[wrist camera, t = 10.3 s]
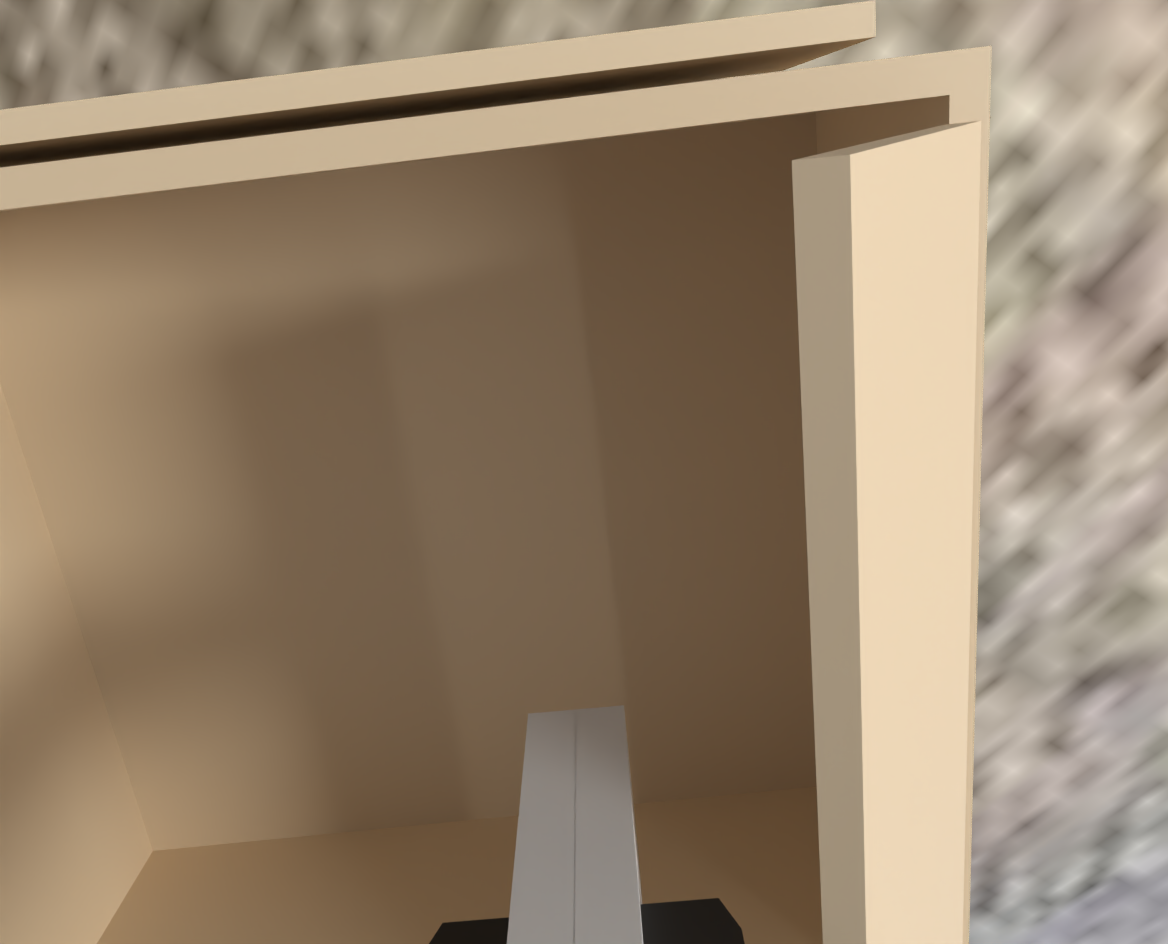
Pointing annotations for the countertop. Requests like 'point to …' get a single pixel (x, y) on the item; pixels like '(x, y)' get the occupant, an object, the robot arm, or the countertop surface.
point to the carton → (419, 477)
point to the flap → (890, 520)
